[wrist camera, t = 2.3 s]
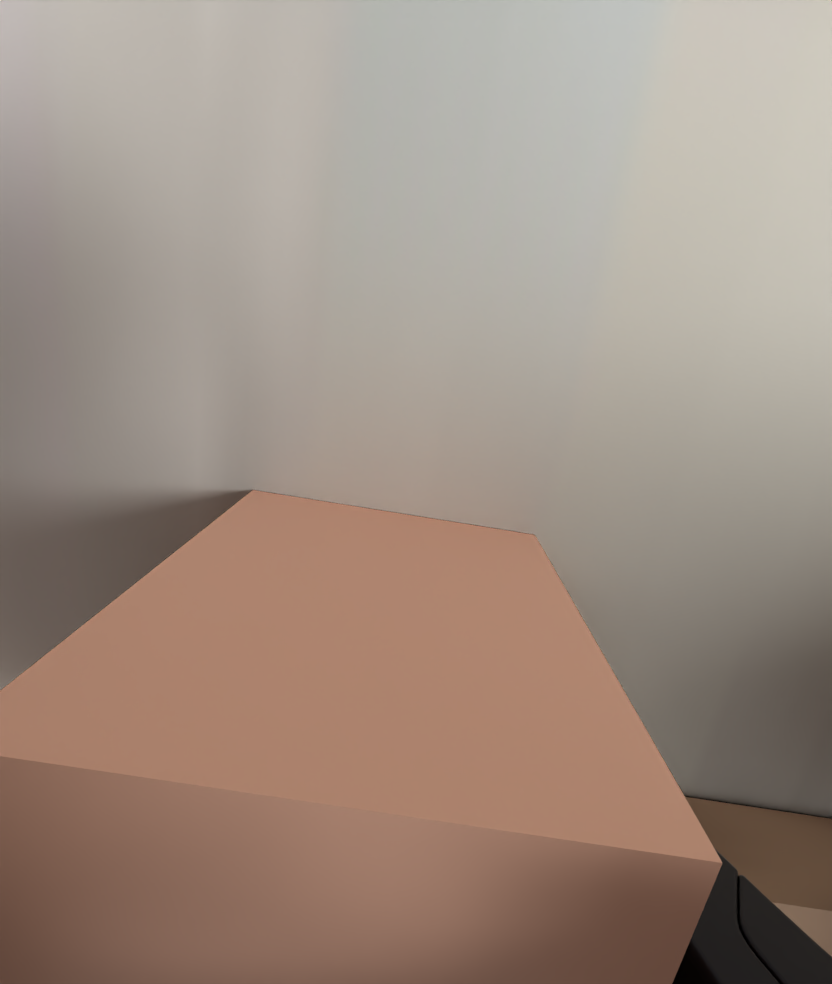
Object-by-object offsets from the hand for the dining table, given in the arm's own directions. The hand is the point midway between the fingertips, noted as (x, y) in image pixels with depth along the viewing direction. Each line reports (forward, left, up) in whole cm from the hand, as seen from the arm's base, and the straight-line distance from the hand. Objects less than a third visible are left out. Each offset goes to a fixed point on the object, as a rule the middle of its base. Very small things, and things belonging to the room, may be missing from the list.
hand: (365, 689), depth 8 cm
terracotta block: (0, 0, -2) cm, 2 cm away
